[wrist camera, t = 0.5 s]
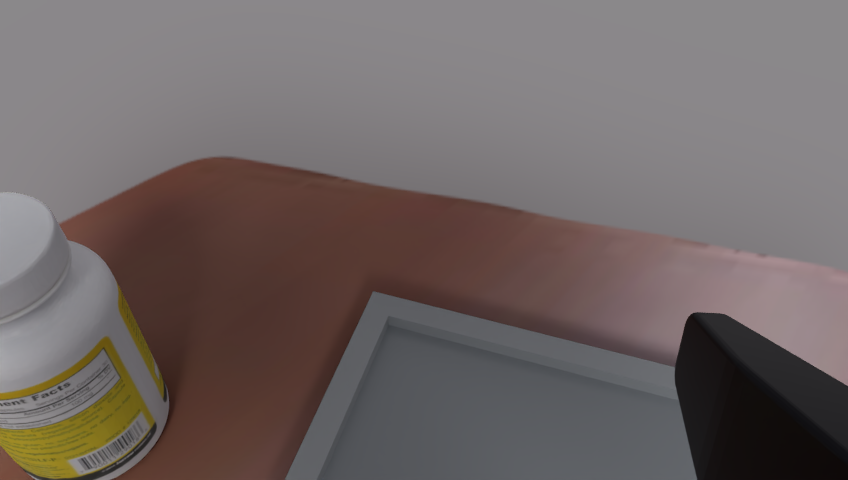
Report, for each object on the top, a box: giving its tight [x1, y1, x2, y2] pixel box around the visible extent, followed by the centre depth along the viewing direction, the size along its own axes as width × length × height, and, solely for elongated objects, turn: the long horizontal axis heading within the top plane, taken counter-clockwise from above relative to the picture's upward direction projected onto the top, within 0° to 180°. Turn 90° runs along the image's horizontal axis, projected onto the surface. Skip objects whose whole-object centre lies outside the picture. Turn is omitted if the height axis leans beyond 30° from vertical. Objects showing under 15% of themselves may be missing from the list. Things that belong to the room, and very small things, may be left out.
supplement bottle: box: [0, 192, 169, 480], centre depth 22 cm, size 5×5×10 cm
